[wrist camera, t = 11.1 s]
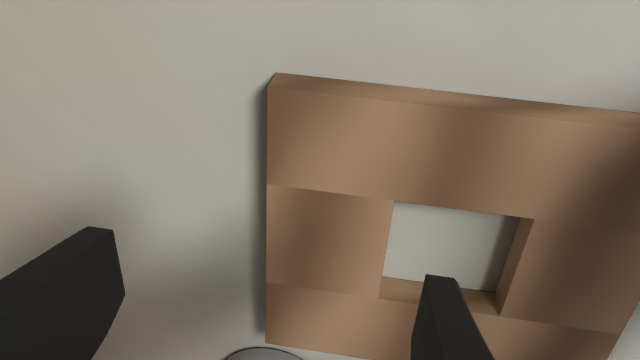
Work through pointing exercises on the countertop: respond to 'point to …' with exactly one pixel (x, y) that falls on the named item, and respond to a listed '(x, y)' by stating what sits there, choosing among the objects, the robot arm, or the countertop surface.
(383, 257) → the pocket tray
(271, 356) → the travel mug
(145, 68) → the countertop surface
